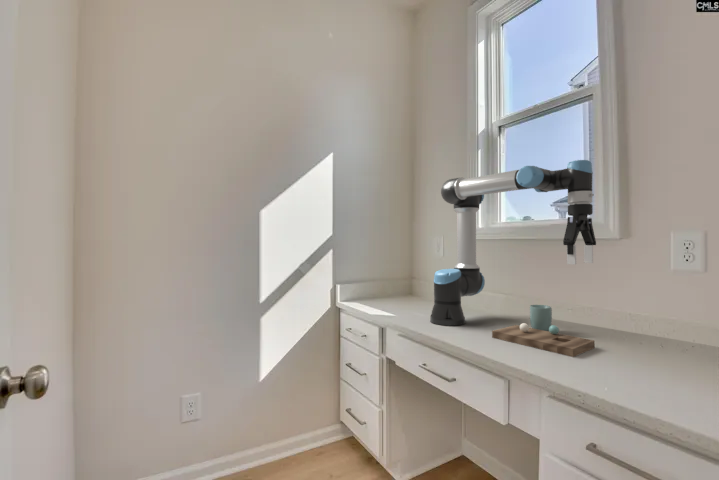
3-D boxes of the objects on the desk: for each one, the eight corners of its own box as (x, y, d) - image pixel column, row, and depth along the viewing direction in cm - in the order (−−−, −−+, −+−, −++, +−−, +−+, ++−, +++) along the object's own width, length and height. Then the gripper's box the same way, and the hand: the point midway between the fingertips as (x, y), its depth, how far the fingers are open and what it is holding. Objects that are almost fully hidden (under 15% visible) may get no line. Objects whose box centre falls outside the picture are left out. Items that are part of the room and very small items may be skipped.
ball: (517, 331, 130) (517, 323, 130) (522, 330, 132) (522, 321, 132) (526, 333, 127) (526, 324, 128) (530, 332, 129) (530, 323, 129)
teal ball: (547, 333, 127) (547, 325, 127) (551, 332, 129) (551, 323, 129) (556, 335, 124) (556, 326, 124) (560, 334, 126) (560, 325, 126)
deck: (492, 337, 131) (492, 330, 131) (515, 331, 141) (515, 325, 141) (573, 357, 109) (573, 348, 109) (594, 348, 118) (594, 340, 118)
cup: (554, 334, 136) (554, 308, 136) (533, 333, 138) (532, 307, 138) (548, 329, 144) (548, 305, 144) (527, 328, 145) (527, 304, 145)
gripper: (575, 200, 116) (575, 265, 116) (606, 205, 130) (606, 262, 130) (551, 202, 122) (552, 264, 122) (583, 207, 136) (584, 262, 136)
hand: (580, 263), depth 126 cm, fingers open, 13 cm apart
